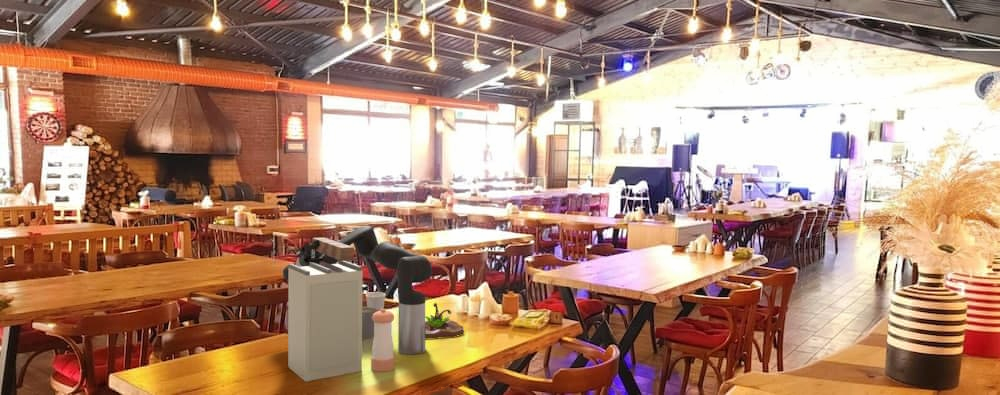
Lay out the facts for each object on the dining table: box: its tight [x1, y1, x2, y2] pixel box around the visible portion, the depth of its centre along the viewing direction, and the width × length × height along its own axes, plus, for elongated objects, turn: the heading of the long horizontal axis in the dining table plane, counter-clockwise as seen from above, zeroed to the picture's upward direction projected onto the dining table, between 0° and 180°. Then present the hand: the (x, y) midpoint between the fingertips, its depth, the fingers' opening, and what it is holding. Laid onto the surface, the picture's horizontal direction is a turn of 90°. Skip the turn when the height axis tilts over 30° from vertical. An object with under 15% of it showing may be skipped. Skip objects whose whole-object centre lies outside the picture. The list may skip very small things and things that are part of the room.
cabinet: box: [287, 260, 364, 383], centre depth 203 cm, size 16×18×33 cm
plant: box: [425, 302, 465, 339], centre depth 252 cm, size 20×20×11 cm
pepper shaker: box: [370, 308, 395, 372], centre depth 206 cm, size 7×7×19 cm
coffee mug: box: [362, 306, 378, 340], centre depth 245 cm, size 13×10×10 cm
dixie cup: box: [365, 291, 387, 311], centre depth 271 cm, size 8×8×10 cm
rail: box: [311, 237, 355, 262], centre depth 209 cm, size 26×4×4 cm, turn 36°
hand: (324, 241), depth 214 cm, fingers closed on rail, 4 cm apart
